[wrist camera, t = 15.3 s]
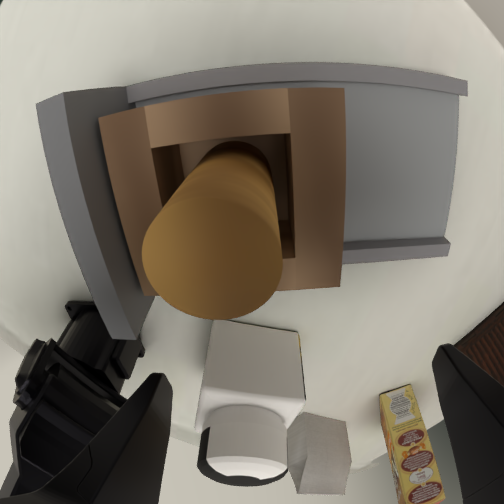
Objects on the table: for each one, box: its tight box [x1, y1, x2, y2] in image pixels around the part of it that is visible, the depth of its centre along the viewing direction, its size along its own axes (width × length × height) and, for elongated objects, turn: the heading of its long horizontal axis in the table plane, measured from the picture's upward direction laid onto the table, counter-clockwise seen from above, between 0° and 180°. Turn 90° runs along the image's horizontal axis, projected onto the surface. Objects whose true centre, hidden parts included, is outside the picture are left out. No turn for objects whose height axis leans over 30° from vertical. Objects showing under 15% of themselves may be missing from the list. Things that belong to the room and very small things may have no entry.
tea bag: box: [287, 412, 352, 495], centre depth 29 cm, size 4×7×10 cm, turn 59°
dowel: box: [142, 141, 283, 320], centre depth 12 cm, size 4×4×9 cm
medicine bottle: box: [194, 320, 306, 486], centre depth 21 cm, size 7×7×12 cm
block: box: [98, 87, 346, 296], centre depth 15 cm, size 10×9×5 cm
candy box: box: [380, 385, 445, 504], centre depth 25 cm, size 9×4×15 cm, turn 21°
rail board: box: [36, 62, 468, 340], centre depth 14 cm, size 21×12×8 cm, turn 95°
